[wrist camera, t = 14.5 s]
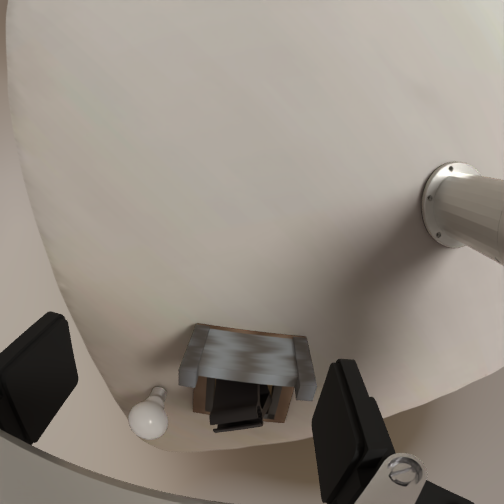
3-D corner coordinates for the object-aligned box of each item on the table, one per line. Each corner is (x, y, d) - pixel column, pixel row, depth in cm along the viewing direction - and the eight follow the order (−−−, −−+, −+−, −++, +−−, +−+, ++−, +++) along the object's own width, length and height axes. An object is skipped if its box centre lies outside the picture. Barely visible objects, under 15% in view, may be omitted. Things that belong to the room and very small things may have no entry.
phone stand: (272, 401, 46) (268, 448, 34) (235, 407, 47) (222, 453, 35) (257, 351, 45) (249, 390, 34) (218, 358, 46) (199, 398, 34)
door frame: (306, 334, 46) (316, 386, 34) (283, 419, 51) (286, 471, 40) (197, 320, 46) (178, 369, 34) (193, 408, 51) (180, 458, 40)
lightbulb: (138, 390, 51) (117, 433, 40) (151, 370, 49) (130, 414, 38) (169, 408, 51) (153, 452, 41) (184, 388, 50) (169, 435, 39)
